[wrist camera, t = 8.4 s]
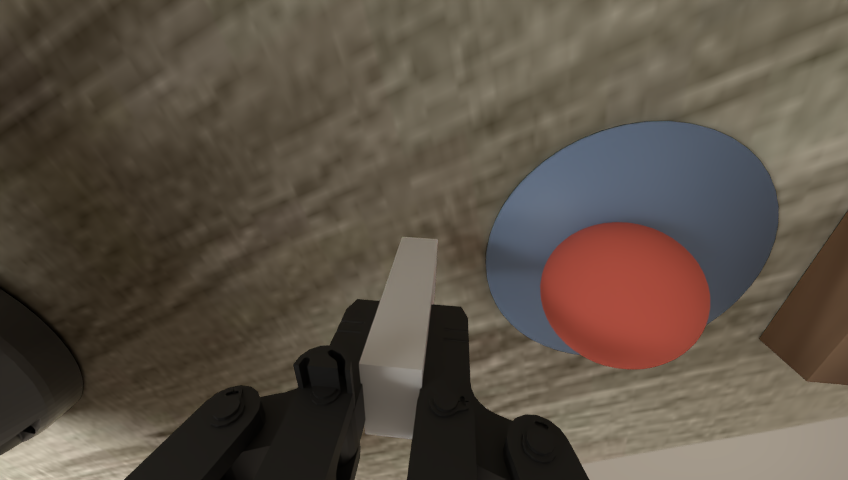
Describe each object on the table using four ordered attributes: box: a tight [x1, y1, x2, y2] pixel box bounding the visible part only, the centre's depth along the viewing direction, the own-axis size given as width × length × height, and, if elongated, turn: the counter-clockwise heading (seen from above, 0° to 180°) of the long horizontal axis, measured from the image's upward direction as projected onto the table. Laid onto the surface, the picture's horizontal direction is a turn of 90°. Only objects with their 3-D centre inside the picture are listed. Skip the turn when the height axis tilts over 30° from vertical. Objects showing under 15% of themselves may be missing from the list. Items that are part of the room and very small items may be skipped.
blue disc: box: [486, 121, 778, 355], centre depth 15 cm, size 12×12×1 cm
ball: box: [540, 222, 710, 369], centre depth 12 cm, size 6×6×6 cm
